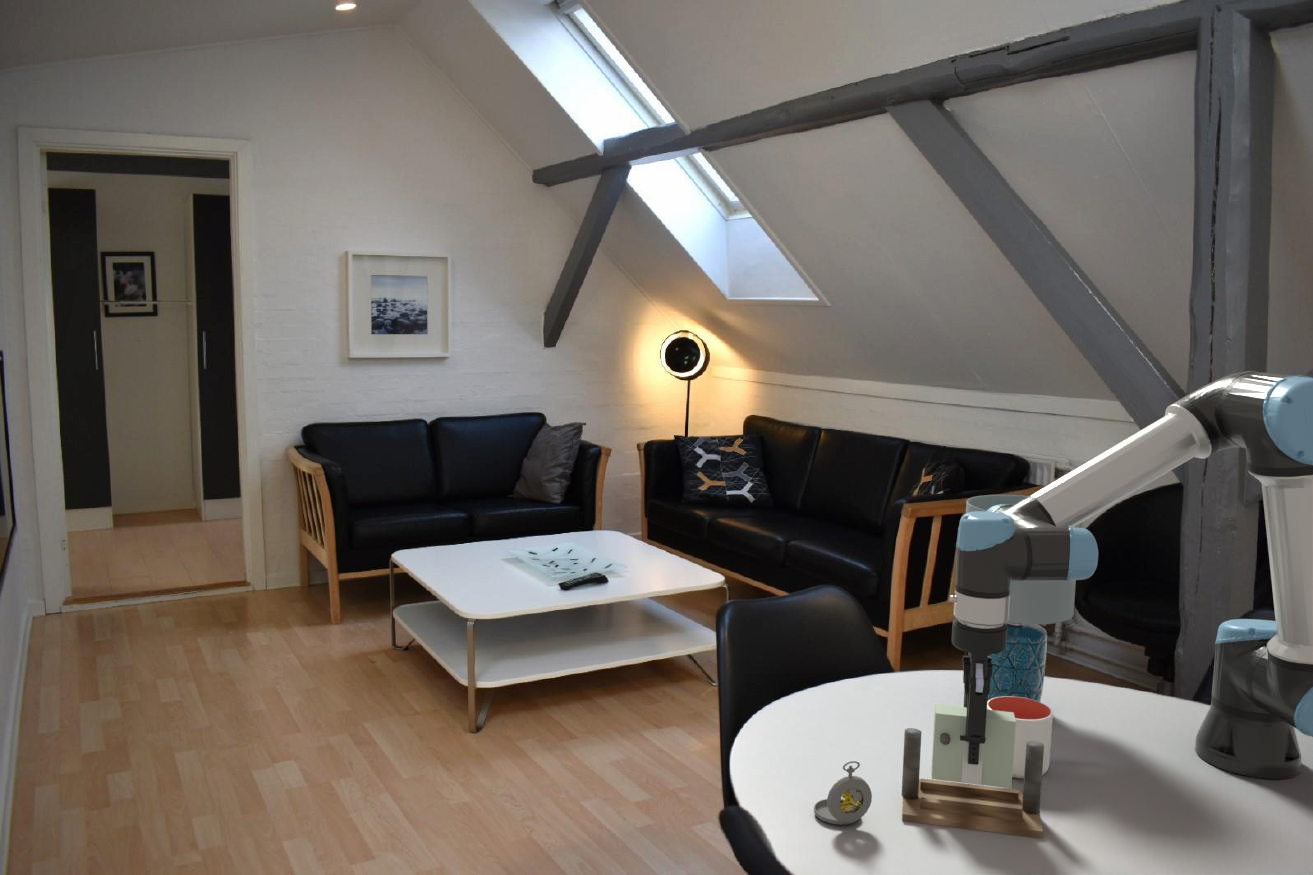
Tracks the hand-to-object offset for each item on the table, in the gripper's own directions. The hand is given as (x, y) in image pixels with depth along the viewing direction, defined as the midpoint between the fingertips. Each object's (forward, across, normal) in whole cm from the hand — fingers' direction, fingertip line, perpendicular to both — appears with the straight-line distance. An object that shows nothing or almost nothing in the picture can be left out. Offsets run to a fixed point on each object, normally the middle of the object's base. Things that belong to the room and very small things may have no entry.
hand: (970, 775), depth 155 cm
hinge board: (+5, 0, 0) cm, 5 cm away
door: (0, 0, 0) cm, 0 cm away
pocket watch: (+5, +8, -18) cm, 20 cm away
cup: (+5, -17, +8) cm, 19 cm away
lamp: (+5, -42, +9) cm, 44 cm away
